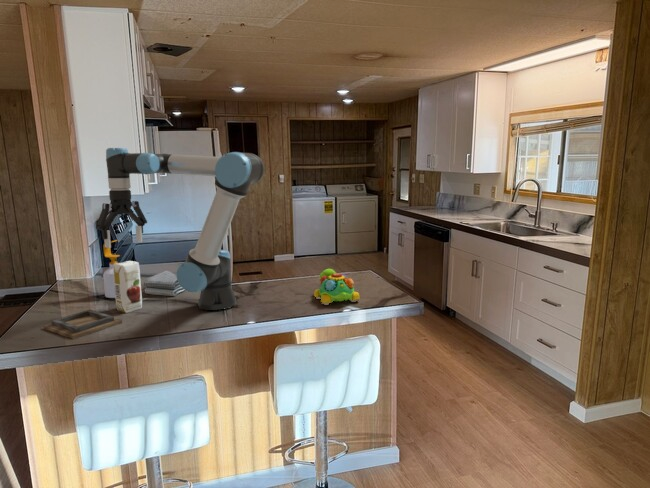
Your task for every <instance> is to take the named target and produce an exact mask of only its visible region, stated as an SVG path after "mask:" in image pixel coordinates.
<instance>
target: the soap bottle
mask: <svg viewBox="0 0 650 488" xmlns="http://www.w3.org/2000/svg"><path fill="white" fill-rule="evenodd" d="M114 242H115V243H116V242H118V239H115V240H111V244H112V243H114ZM102 247H103V256H104V258H109V260H111V261H110V262H109V268H107V269H105V270H104V271H103V274H102V280H103V288H104V297H105V298H109V299H116V298H115V286H114V275H113V264H115V263H119V262H118V261H116V260H117V258H118V257H120V256H121V255H120V254H113V253H112V251H111V248H112V247H111V248H107V247H105V243H103V245H102Z"/></svg>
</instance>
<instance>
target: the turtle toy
mask: <svg viewBox="0 0 650 488" xmlns="http://www.w3.org/2000/svg"><path fill="white" fill-rule="evenodd" d="M318 279H319V282H320V286H319V289H315V290H314V292H313V296H315V297H320V298H321V300H320V303H321V302H322V303H331V302H333V301H334V302H338V301H339V302H343V301H344V300H345V301H348V299H349V300H356V299H359V300H360V298H361V297H360V293H359V292H358V291H355V288H354V285H355V281H354V279H352V278H351V277H350V278H349V277H348V276H347V275H346V274H343V273H339V272H336V271H335V270H334V269H332V268H327V269H324V270H323V271H322V272H321V273H320V274H319V278H318ZM315 297H314V298H315ZM345 301H344V302H345ZM334 302H333V303H334ZM322 303H321V304H322Z"/></svg>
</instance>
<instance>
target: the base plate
mask: <svg viewBox="0 0 650 488" xmlns="http://www.w3.org/2000/svg"><path fill="white" fill-rule="evenodd" d="M122 323H123V320H122V319H121V318H118V317H115V316H113V315H109V314H106V313H103V312H100V311H96V310H92V309H87V310H84V311H80V312H76V313H73V314H70V315H66V316H64V317H59V318H56V319H53V320H51V322H50V323H48V324H44V325H43V329H44V330H45V331H49V332H51V333H56V334H58V335H60V336H63V337H66V338H69V339H71V340H75V339H78V338H81V337H83V336H87V335H90V334H92V333H95V332H98V331H99V332H100V331H102V330H105V329H108V328H111V327H114V326H117V325H120V324H122Z"/></svg>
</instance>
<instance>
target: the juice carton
mask: <svg viewBox="0 0 650 488" xmlns="http://www.w3.org/2000/svg"><path fill="white" fill-rule="evenodd" d="M140 269H141V267H140V263H139V262H138V261H135V260H134V261H133V260H126V261H123V262H118V263H115V264H113V275H114V286H115V298H114V299H115V305H116V309H117V311H119V312H121V313H125V314H127V313H131V312H135V311H137V310H138V311H139V310H142V308H143V296H142V295H143V294H142V284H141V283H142V282H141V271H140Z"/></svg>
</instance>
